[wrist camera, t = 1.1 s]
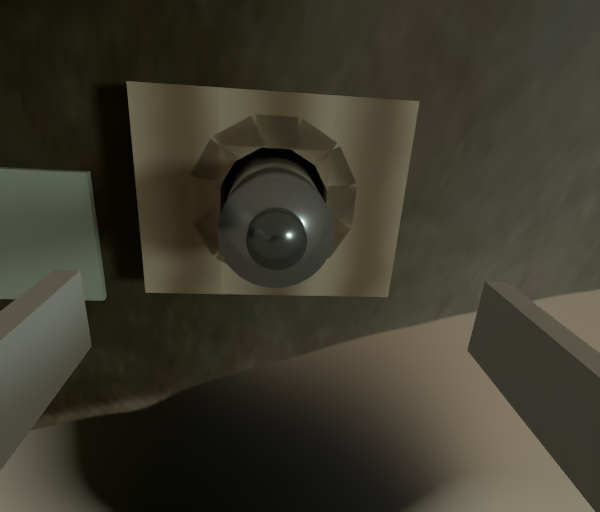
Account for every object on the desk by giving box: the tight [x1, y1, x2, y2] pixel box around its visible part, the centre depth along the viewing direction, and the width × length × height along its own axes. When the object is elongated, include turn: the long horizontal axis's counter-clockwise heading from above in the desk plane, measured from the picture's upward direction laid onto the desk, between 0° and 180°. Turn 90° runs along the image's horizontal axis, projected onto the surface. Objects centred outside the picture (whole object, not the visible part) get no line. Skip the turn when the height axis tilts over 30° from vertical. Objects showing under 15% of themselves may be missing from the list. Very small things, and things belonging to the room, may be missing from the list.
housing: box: [126, 81, 419, 297], centre depth 28 cm, size 18×14×3 cm
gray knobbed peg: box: [217, 152, 334, 288], centre depth 24 cm, size 6×6×11 cm
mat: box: [0, 167, 107, 301], centre depth 29 cm, size 10×10×1 cm
